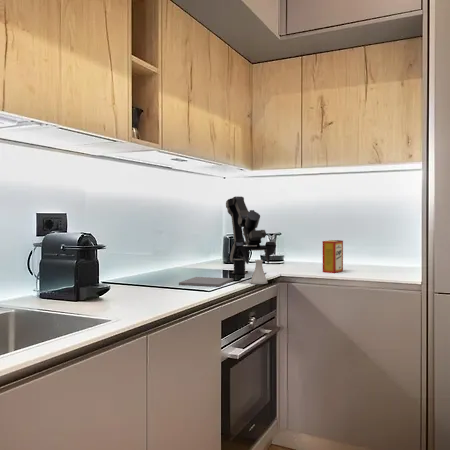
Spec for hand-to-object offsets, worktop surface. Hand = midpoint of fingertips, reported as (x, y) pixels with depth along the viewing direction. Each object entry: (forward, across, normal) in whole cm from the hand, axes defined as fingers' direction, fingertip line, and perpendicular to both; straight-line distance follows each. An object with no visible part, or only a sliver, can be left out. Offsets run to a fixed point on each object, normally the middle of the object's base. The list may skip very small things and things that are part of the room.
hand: (258, 262), depth 200 cm
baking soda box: (-12, +47, +24) cm, 54 cm away
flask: (+7, 0, +6) cm, 9 cm away
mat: (+1, -21, +11) cm, 24 cm away
